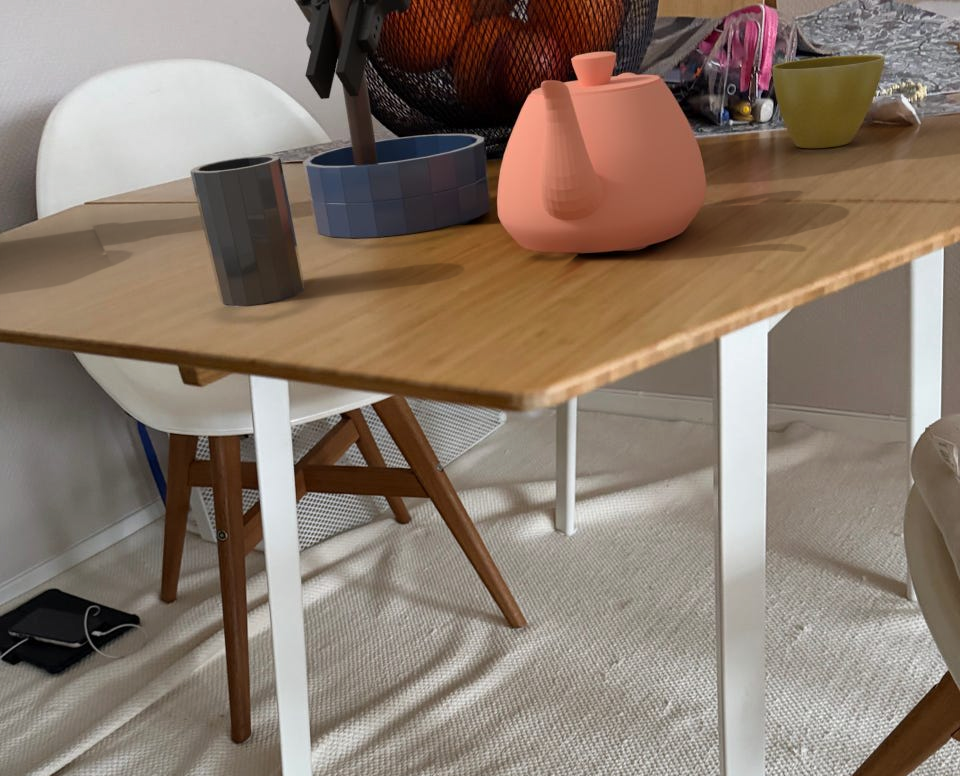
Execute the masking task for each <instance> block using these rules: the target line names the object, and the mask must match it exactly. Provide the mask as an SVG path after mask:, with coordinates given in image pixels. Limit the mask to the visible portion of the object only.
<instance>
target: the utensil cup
mask: <svg viewBox="0 0 960 776" xmlns="http://www.w3.org/2000/svg"><path fill="white" fill-rule="evenodd" d="M189 173H190V176H191V180H192V185H193V189H194V193H195V198H196V203H197V207H198V211H199V215H200V219H201V224H202V228H203V233H204V236H205V241H206V246H207V250H208V253H209V258H210V263H211V267H212V271H213V275H214V280H215V284H216V288H217V293H218V297H219V301H220V302H221V304H223V305H225V306H229V307H255V306H262V305H268V304H274V303H278V302H282V301H286V300H289V299H292V298H294V297H296V296H298V295H300V294H302V293H303V292H304V291H305V286H306V285H305V280H304V274H303V269H302V264H301V259H300V254H299V248H298V244H297V239H296V233H295V227H294V223H293V222H294V221H293V218H292V212H291V206H290V202H289V195H288V190H287V185H286V181H285V176H284V175H285V174H284V169H283V165H282V159H281V157H280V156H277V155H253V156H244V157H237V158H229V159H223V160H219V161H214V162H208V163H204V164H202V165H198V166H196V167H193V168H192V169H191V170H190V171H189Z"/></svg>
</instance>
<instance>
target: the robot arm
mask: <svg viewBox="0 0 960 776" xmlns="http://www.w3.org/2000/svg"><path fill="white" fill-rule="evenodd" d="M294 1H295V3H296V5H297V6H298V9H299V10H300V11H301V13H302V14H303V16H304V19H306V21H307V22H308V23H309V25H308V30H307V34H306V37H305V42H306V47H307V48H308V49H309V51H310V54H309V57H308V62H307V67H306V72H305V75H304V76H305V77H306V79H307V80H308V82H309V84H311V87H312V88H313V90H314V91H315V92H316V95H318V97H319V98H320V100H324V99H325V100H326V99H330V97H331V91H332V89H333V88H332V87H333V83H334V78H335V75H336V76H337V78H338V79H339V81H340V83H341V85H342V84H343V86H344V87H345V89H346V91H347V92H348V94H349V95H350V96H359V91H360V87H361V82H362V77H363V73H364V68H365V67H366V64H367V60H368V54H370V53H371V54H372V53H375V51H376V50H377V48H378V45H379V42H380V41H379V40H380V36H381V32H382V26H383V23H384V21H386V19H387V18H388V15H389V14H391V13H394V12H396V13H398V14H403V13H406V12H407V11H408V10H409V8H410V6H411V3H412V0H363V3H362V1H361V0H353V1H351V4H350V8H349V13H348V17H347V22H346V26H345V31H344V35H343V40H342V44H341V49H340V53H339V58H338V54H337V47H336V41H335V34H334V28H333V22H332V15H331V9H330V2H329V0H294ZM343 86H342V87H343Z"/></svg>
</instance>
